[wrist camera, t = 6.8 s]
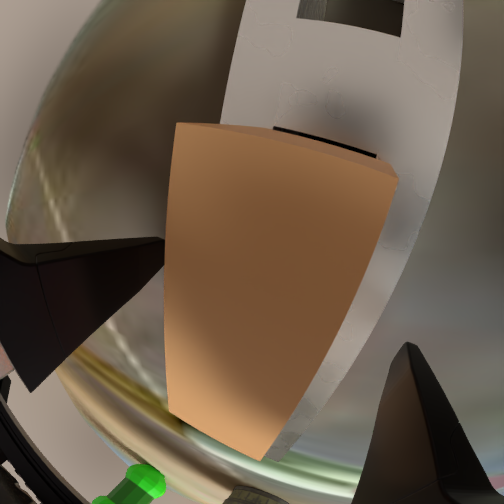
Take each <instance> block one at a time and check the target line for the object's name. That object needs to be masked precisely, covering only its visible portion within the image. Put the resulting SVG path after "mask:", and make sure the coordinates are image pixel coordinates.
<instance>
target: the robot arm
mask: <svg viewBox="0 0 504 504" xmlns="http://www.w3.org/2000/svg"><path fill="white" fill-rule="evenodd" d="M164 262H165V240H164V239H162V238H159V237H140V238H124V239H108V240H94V241H79V242H74V243H73V242H65V243H47V244H12V243H8V242H6V241H4V240H3V239H1V238H0V504H37V503H36V502H35V501H34V500H33V499H32V497H31V496H30V495H29V494H28V493H27V492H26V491H24V490H22V489H21V488H20V486H19V483H18V482H17V480H16V479H15V478H14V477H13V476H12V475H11V474H10V473H9V472H8V471H7V470H6V469H5V468H4V467H3V466H2V465H1V464H3V463H4V462H5V461H6V460H8V462H10V463H11V464H12V466H13V467H14V468H15V472H16V473H17V474H18V475H19V476H20V477H21V478H22V479H23V480H24V482H25V485H26V486H27V487H28V488H29V489H30V490H32V491H33V493H34V494H35V495H36V498H37V499H38V500H39V501H40V502H41V503H40V504H90V503H89V502H88V501H87V500H86V499H85V498H84V497H82V496H81V495H80V494H79V493H78V492H77V491H76V490H75V489H74V488H73V487H72V486H71V485H70V484H69V483H68V482H67V481H66V480H65V479H64V478H63V477H62V476H61V475H60V473H59V472H58V471H57V470H56V469H55V468H54V467H53V466H52V465H51V463H50V462H49V461H48V460H47V459H46V458H45V456H43V454H42V453H41V452H40V450H39V449H38V448H37V447H36V445H35V444H34V443H33V441H32V440H31V439H30V437H29V436H28V435H27V434H26V432H25V431H24V429H23V428H22V427H21V425H20V424H19V422H18V421H17V419H16V418H15V416H14V415H13V413H12V412H11V410H10V409H9V407H8V405H7V399H8V394H9V389H10V384H11V380H10V378H9V377H8V374H10V373H11V372H12V371H14V370H15V371H16V373H17V374H18V376H19V377H20V379H21V380H22V382H23V383H24V385H25V386H26V388H27V389H28V390H29V392H30V393H31V392H32V391H34V390H35V389H36V388H37V387H38V386H39V385H40V384H41V383H42V382H43V381H44V380H45V379H46V378H47V377H48V376H49V375H50V374H51V373H52V372H53V371H54V370H55V369H56V368H57V367H58V366H59V365H60V364H61V363H62V362H63V361H64V360H65V359H66V358H67V357H68V356H69V355H70V354H71V353H72V352H73V351H74V350H75V349H76V348H78V347H79V346H80V345H81V344H82V343H83V342H84V341H85V340H86V339H87V338H88V337H89V336H90V335H91V334H92V333H94V332H95V331H96V330H97V329H98V328H99V327H100V326H101V325H102V324H103V323H104V322H106V321H107V320H108V319H109V318H110V317H111V316H112V315H113V314H114V313H115V312H117V311H118V310H119V309H120V308H121V307H122V306H123V305H124V304H126V303H127V302H128V301H129V300H130V299H131V298H132V297H133V296H135V295H136V294H137V293H138V292H139V291H140V290H141V289H142V288H143V287H144V286H145V285H146V284H147V283H148V282H149V281H150V279H151V278H152V277H153V276H154V275H155V274H156V273H157V272H158V271H159V270H160V269H161V268H162V267H163V266H164ZM458 422H459V420H458V418H457V416H456V414H455V412H454V410H453V408H452V406H451V404H450V403H449V401H448V399H447V397H446V395H445V393H444V391H443V389H442V388H441V386H440V384H439V382H438V380H437V379H436V377H435V375H434V373H433V371H432V370H431V368H430V366H429V365H428V363H427V361H426V359H425V358H424V356H423V354H422V353H421V351H420V349H419V348H418V346H417V345H415V344H412V343H410V342H405V343H404V344H403V346H402V347H401V349H400V350H399V352H398V353H397V355H396V356H395V357H394V359H393V361H392V363H391V366H390V369H389V373H388V377H387V380H386V384H385V387H384V390H383V394H382V397H381V400H380V404H379V408H378V412H377V417H376V422H375V426H374V430H373V435H372V439H371V443H370V446H369V450H368V454H367V457H366V461H365V464H364V468H363V471H362V474H361V477H360V480H359V483H358V486H357V489H356V492H355V495H354V498H353V500H352V503H351V504H504V496H503V495H501V494H499V493H498V492H497V491H496V490H495V489H494V488H493V486H492V485H491V483H490V481H489V479H488V477H487V475H486V473H485V471H484V469H483V467H482V465H481V463H480V462H479V460H478V458H477V456H476V454H475V452H474V450H473V448H472V447H471V445H470V443H469V441H468V439H467V437H466V435H465V433H464V431H463V428H462V426H461V424H460V423H458Z"/></svg>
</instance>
